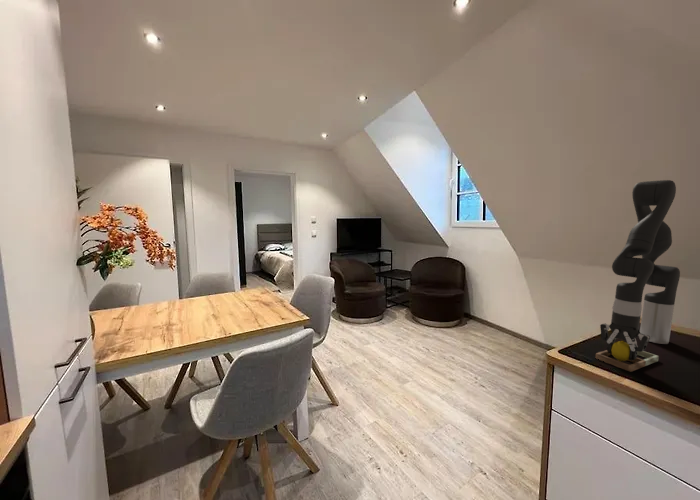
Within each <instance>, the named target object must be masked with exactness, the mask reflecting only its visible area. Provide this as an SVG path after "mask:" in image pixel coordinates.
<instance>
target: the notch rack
mask: <svg viewBox="0 0 700 500" xmlns="http://www.w3.org/2000/svg"><path fill="white" fill-rule="evenodd" d="M609 356H613V355H612V354H610V353H608V351H607V349H606V350H602V351H598V352H596V353H595V358H596V360H598V359H599V360H598V361H601V362H603V361H604V363H606V364H609V365H612V366H614V367H616V368H620V369H622V370H625V371H628V372H630V373H632V372H634V371H637V370H639V369H641V368H644V367H647V366H649V365H651V364H654V363H657V362H659V358H660V356H659V355H657V354H654V353H650V352H649V351H648V352H647V351H646V350H644V351H641V352H639V351H638V352H637V356H640V357H643V358H644V359H642V358H640V357H637V358H636V359H635V360H633V361H630V360H629V359H628V360H627V361H628V362H631V364H630V363H629V364H628V363H626V362H624V361H622V362H621V361H618V359H616V358H612V357H609Z"/></svg>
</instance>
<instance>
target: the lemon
mask: <svg viewBox="0 0 700 500" xmlns="http://www.w3.org/2000/svg"><path fill="white" fill-rule="evenodd" d="M613 343H614V344H613V346H612V349H611V351H612V355H611V356H613V357H614V359H615V360H618V361H621V362H625V361H628V359H629V355H630V350H631V349H630V346H629V344H628V343H627V341H626V342H625V340H619V341H614V342H613Z"/></svg>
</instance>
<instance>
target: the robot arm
mask: <svg viewBox="0 0 700 500" xmlns="http://www.w3.org/2000/svg"><path fill="white" fill-rule="evenodd" d="M676 192H677V185H676V183H675V182H674V181H673V180H670V179H663V180H651V181H650V180H649V181H647V180H646V181H640V182H637V183H635V184H634V186H633V187H632V203H633V206H634V210H635V215H636V219H637V223H636V224H635V225H634V226H633V227H632V228H631V229H630V232H629V234H628V237H627V240H626V242H625V246H624V247H623V249H622V250H621V251H620V253H618V254H617V256H616V257H615V259H614V260H613V262H612V265H611V270H612V272H613V273H614V274H615V275H617V276H619V277H620V276H621V277H628V278H629V277H630V278H635V281H632V282H619V283H617V285H616V288H615V289H616V290H615V295H614V301H613V305H612V312H611V320H610V321H611V322H610V324H607V323H602V324H600V325H599V326H600V328H599V329H600V337H601V340H603V341H605V342H606V343H607V345H606V350H607V351H608V353H610V354H612V351H611V349H612V346H613V344H614V343H615V342H616V340H617V339H620V340H622V341H626V343H627V344H629V346H630V349H631V350H630V355H629V360H630V361H633V360H635V359H636V358H638V357H637V356H638V355H637V352H638V351H639V352H641V351H646V349H647V347H648V344H649V342H651V343H654V344H662V345H668V344H670V343H669V342H670V337H671V330H672V323H673V322H672V321H673V317H674V309H675V302H676V296H677V291H678V287H679V282H680V277H681V271H680V269H679V268H678V267H677V266H669V265H659V264H655V262H656V260H657V259H658V258H660V256H662V255H663V254H664V253H666V252H667V251H668V250H669V249H670V248H671V246H672V243H673V236H672V230H671V227H670V226H669V224H667V223H666V222H665V221H664V220H665V218H666V216H667V215H668V211H669V210H670V208H671V206H672V205H673V203H674V200H675V197H676V194H677V193H676ZM652 206H655V207H654V209H652V208H651V207H652ZM638 256H640V257H638ZM646 285H649V286H652V287H653V286H655V287H661V288H665V289H664V290H662V291H658V292H647V293H645V294H644V289H645V286H646ZM643 295H644V298H643ZM642 301H643V307H642ZM609 329H610V332H611V334H610V336H609ZM637 337H638V338H639V340H640V343H639V345H638V342H637V339H636V338H637ZM630 361H629V362H630Z"/></svg>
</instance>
